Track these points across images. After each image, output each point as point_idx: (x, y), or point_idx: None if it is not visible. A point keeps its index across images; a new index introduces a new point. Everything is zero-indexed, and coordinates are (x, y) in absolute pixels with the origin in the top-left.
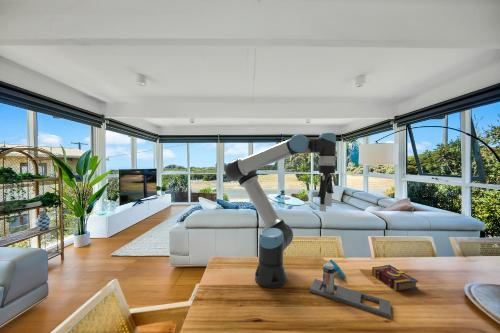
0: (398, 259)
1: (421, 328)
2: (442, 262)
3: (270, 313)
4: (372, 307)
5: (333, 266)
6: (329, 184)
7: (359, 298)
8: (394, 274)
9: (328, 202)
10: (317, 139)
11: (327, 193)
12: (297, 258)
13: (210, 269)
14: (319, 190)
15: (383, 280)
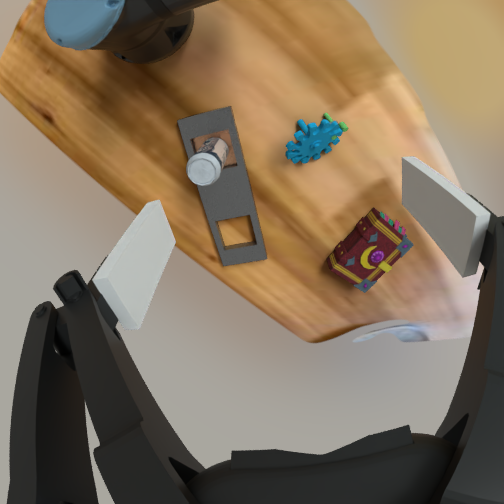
0: None
1: (236, 292)
2: (478, 294)
3: (69, 117)
4: (219, 241)
5: (203, 185)
6: (449, 413)
7: (229, 216)
8: (366, 260)
9: (417, 193)
10: None
11: (473, 232)
12: (327, 6)
13: None
14: (24, 350)
15: (351, 234)
